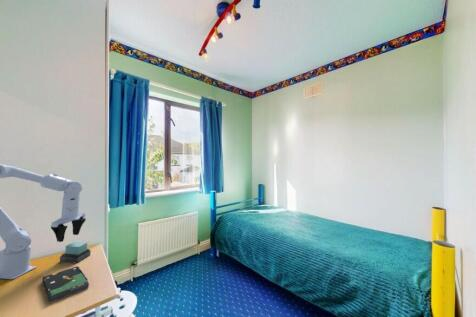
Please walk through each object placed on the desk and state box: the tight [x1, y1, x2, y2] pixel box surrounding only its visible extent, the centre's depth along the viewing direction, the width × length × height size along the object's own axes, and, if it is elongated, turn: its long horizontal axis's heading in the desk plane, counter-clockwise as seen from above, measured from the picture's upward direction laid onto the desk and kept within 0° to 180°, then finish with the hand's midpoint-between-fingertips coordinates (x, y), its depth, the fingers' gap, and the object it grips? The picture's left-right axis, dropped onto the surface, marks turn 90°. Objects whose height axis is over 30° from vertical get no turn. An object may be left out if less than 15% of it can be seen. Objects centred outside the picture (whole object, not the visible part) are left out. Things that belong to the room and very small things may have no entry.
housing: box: [64, 241, 88, 255], centre depth 87 cm, size 4×6×3 cm
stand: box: [59, 248, 92, 264], centre depth 87 cm, size 8×7×3 cm
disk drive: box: [42, 266, 90, 303], centre depth 69 cm, size 10×3×15 cm
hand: (68, 237), depth 86 cm, fingers open, 7 cm apart
